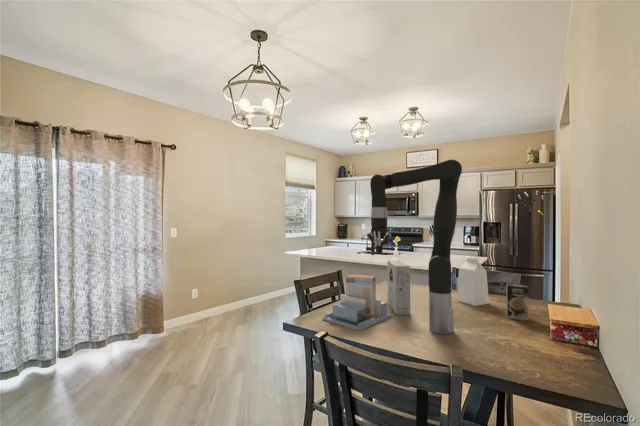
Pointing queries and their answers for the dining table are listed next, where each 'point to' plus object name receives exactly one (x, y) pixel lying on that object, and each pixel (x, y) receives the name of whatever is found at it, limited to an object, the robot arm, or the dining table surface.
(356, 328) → the vise body
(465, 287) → the milk
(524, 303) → the coffee box
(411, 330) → the dining table surface
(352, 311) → the sliding jaw
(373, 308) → the cracker box
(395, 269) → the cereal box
